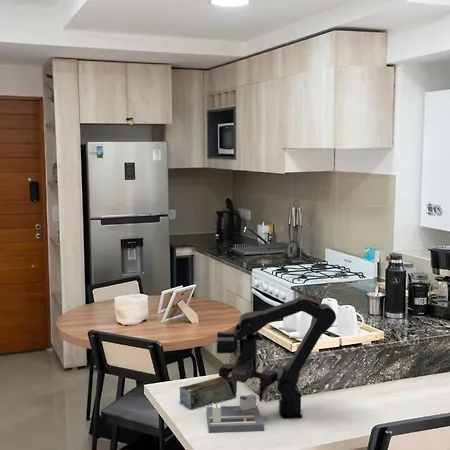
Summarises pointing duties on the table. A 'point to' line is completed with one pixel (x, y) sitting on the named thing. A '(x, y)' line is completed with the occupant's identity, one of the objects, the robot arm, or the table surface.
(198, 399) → the weathered grey box
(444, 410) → the table surface
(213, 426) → the console board
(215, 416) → the fader tab
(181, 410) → the table surface
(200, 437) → the table surface
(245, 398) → the grey rectangular block
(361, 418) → the table surface
